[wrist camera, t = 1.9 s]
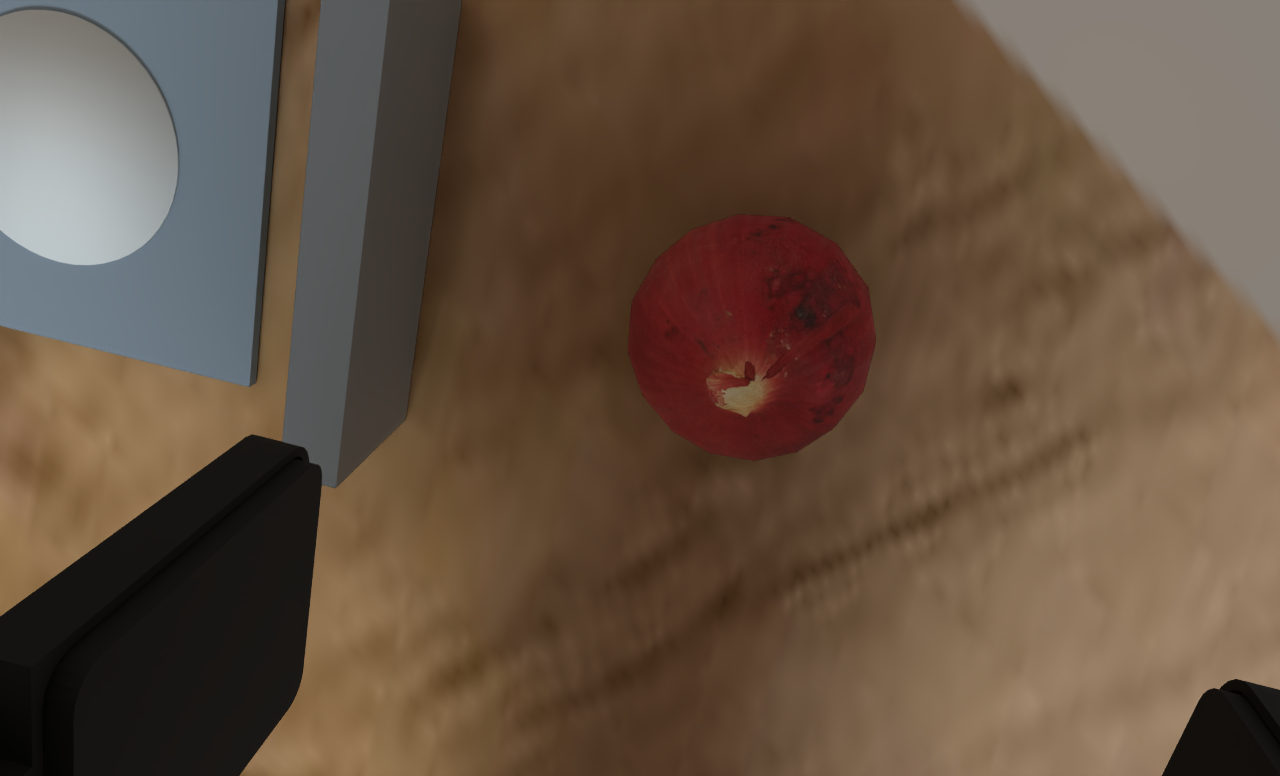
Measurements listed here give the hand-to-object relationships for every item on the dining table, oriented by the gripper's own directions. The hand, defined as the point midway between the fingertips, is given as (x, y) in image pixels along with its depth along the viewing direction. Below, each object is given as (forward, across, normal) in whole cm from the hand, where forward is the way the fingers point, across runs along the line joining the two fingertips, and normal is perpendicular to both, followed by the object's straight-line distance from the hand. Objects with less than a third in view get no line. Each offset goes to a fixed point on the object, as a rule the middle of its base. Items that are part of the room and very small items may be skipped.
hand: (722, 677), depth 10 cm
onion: (+18, 0, 0) cm, 18 cm away
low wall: (+18, +10, 0) cm, 20 cm away
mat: (+18, +20, 0) cm, 27 cm away
